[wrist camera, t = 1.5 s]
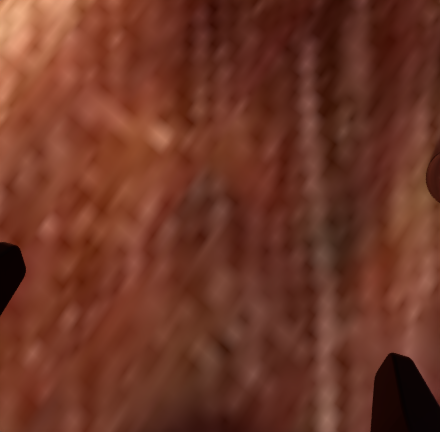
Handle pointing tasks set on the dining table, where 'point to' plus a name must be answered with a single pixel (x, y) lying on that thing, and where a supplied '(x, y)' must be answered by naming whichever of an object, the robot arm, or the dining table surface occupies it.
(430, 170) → the wooden post
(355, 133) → the dining table surface
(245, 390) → the dining table surface
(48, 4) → the dining table surface
